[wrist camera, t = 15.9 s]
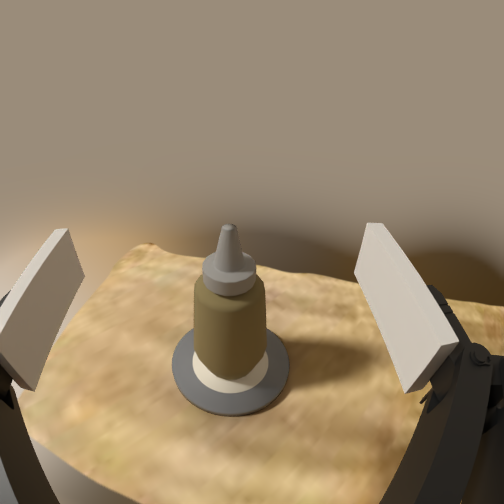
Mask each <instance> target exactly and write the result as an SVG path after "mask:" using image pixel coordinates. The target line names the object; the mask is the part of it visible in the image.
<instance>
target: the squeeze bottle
mask: <svg viewBox="0 0 504 504" xmlns="http://www.w3.org/2000/svg"><path fill="white" fill-rule="evenodd" d="M202 270H203V274H202V275H201V276H200V277H199V278H198V280H197V281H196V283H195V287H194V350H195V352H196V354H197V356H198V358H199V360H200V361H201V362H202V363H203V364H204V365H205V367H206V368H207V369H208V370H209V371H210V372H211V373H213V374H214V375H215V376H216V377H219V378H222V379H225V380H237V379H240V378H242V377H245V376H246V375H247V374H249V373H250V372H251V371H252V370H253V368H254V367H255V366H256V365H257V364H258V362H259V361H260V360H261V359H262V358H263V356H264V353H265V350H266V347H267V331H266V303H265V288H264V283H263V281H262V280H261V279H260V278H259V276H258V275H257V274H256V263H255V261H254V260H253V258H252V257H251V256H250V255H248V254H246V253H244V252H242V249H241V244H240V240H239V236H238V231H237V227H236V226H235V225H233V224H225V225H223V226H222V229H221V233H220V238H219V242H218V246H217V251H216V252H214V253H213V254H211V255H209V256H208V257H207V258H206V259H205V260H204V262H203V268H202Z"/></svg>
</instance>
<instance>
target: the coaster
mask: <svg viewBox="0 0 504 504" xmlns="http://www.w3.org/2000/svg"><path fill="white" fill-rule="evenodd" d="M266 331H267V347H266V350H265V353H264V356H263V358H262V359H261V360H260V361H259V362H258V364H257V365H256V366H255V367H254V368H253V370H252V371H251V372H250V373H249V374H247V375H246V376H245V377H242V378H240V379H237V380H225V379H222V378H219V377H216V376H215V375H214V374H213V373H211V372H210V371H209V370H208V369H207V368H206V367H205V365H204V364H203V363H202V362H201V361H200V360H199V358H198V356H197V354H196V352H195V350H194V328H193V329H192V330H190V331H189V332H188V333H187V334H186V335H185V336H184V337H183V338H182V339H181V340H180V342H179V343H178V345H177V346H176V348H175V351H174V354H173V358H172V371H173V375H174V379H175V382H176V384H177V386H178V389H179V390H180V392H181V393H182V395H183V396H184V397H185V398H186V399H187V400H188V401H189V402H190V403H192V404H193V405H194V406H196V407H198V408H199V409H201V410H203V411H206V412H208V413H211V414H215V415H220V416H242V415H247V414H251V413H254V412H257V411H259V410H261V409H263V408H265V407H266V406H268V405H269V404H270V403H272V402H273V401H274V400H275V399H276V398H277V397H278V396H279V394H280V393H281V391H282V390H283V388H284V386H285V384H286V381H287V377H288V373H289V358H288V354H287V351H286V349H285V347H284V345H283V343H282V342H281V341H280V339H279V338H278V337H277V336H276V335H275V334H274V333H273V332H271V331H270V330H269V329H267V328H266Z"/></svg>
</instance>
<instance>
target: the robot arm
mask: <svg viewBox="0 0 504 504" xmlns="http://www.w3.org/2000/svg"><path fill="white" fill-rule="evenodd" d="M354 274H355V276H356V278H357V280H358V282H359V284H360V286H361V289H362V291H363V293H364V295H365V297H366V300H367V302H368V304H369V306H370V309H371V311H372V313H373V315H374V318H375V320H376V322H377V325H378V327H379V329H380V332H381V334H382V337H383V339H384V341H385V344H386V346H387V349H388V351H389V354H390V356H391V359H392V361H393V364H394V366H395V369H396V372H397V374H398V377H399V380H400V382H401V385H402V388H403V390H404V393H405V394H406V393H410V392H414V391H418V390H421V389H423V388H424V386H425V385H426V384H427V383H428V382H429V380H430V382H431V385H432V388H431V389H430V391H429V392H428V393H427V394H426V395H425V396H424V397H423V398H422V400H421V401H420V404H422V403H423V402H424V401H425V400H426V399H427V400H426V402H425V405H424V408H423V411H422V414H421V416H420V419H419V422H418V424H417V427H416V429H415V432H414V434H413V437H412V439H411V441H410V444H409V446H408V448H407V451H406V453H405V455H404V457H403V459H402V461H401V463H400V466H399V468H398V470H397V472H396V474H395V476H394V478H393V480H392V481H391V483H390V485H389V487H388V489H387V491H386V493H385V494H384V496H383V498H382V500H381V501H380V503H379V504H460V503H461V504H504V356H499V355H491V354H490V352H489V351H488V350H487V349H486V348H485V347H484V346H482V345H481V344H478V343H471V341H470V339H469V338H468V336H467V334H466V332H465V331H464V329H463V327H462V326H461V324H460V322H459V321H458V319H457V317H456V316H455V314H454V313H453V311H452V309H451V308H450V306H449V305H448V303H447V301H446V300H445V298H444V297H443V295H442V293H440V292H439V291H438V290H437V289H436V288H435V287H434V286H432V285H425V283H424V282H423V280H422V279H421V277H420V276H419V274H418V272H417V271H416V269H415V268H414V267H413V265H412V264H411V262H410V261H409V259H408V258H407V256H406V255H405V253H404V252H403V251H402V249H401V248H400V246H399V245H398V244H397V242H396V241H395V240H394V238H393V237H392V236H391V234H390V233H389V231H388V230H387V229H386V228H385V226H384V225H383V224H382V223H367V226H366V230H365V234H364V238H363V242H362V246H361V249H360V253H359V257H358V261H357V264H356V268H355V271H354ZM84 277H85V275H84V273H83V271H82V268H81V265H80V262H79V259H78V256H77V254H76V251H75V248H74V245H73V242H72V239H71V236H70V233H69V229H55V230H54V232H53V233H52V234H51V236H50V237H49V238H48V239H47V240H46V242H45V243H44V244H43V246H42V247H41V248H40V250H39V251H38V252H37V254H36V255H35V256H34V258H33V259H32V261H31V262H30V263H29V265H28V266H27V267H26V269H25V270H24V272H23V273H22V275H21V276H20V278H19V279H18V281H17V282H16V283H15V285H14V287H13V288H12V290H10V291H9V292H8V294H6V295H5V296H4V297H3V298H2V300H1V301H0V504H60V503H59V501H58V500H57V498H56V496H55V494H54V492H53V490H52V488H51V486H50V484H49V482H48V480H47V478H46V476H45V474H44V471H43V469H42V467H41V465H40V463H39V460H38V458H37V455H36V453H35V450H34V448H33V446H32V443H31V440H30V437H29V435H28V432H27V429H26V426H25V423H24V420H23V417H22V414H21V411H20V408H19V404H18V401H17V397H16V394H15V391H14V389H13V387H12V386H11V383H12V380H14V381H15V382H16V383H17V384H18V385H19V386H20V387H21V388H23V389H27V390H30V391H34V392H35V389H36V386H37V384H38V381H39V378H40V375H41V373H42V370H43V367H44V365H45V362H46V360H47V357H48V355H49V352H50V350H51V347H52V345H53V342H54V340H55V337H56V335H57V333H58V331H59V328H60V326H61V324H62V322H63V320H64V317H65V315H66V313H67V311H68V309H69V307H70V305H71V303H72V301H73V299H74V296H75V294H76V292H77V290H78V288H79V287H80V285H81V283H82V281H83V279H84ZM461 500H462V502H461Z"/></svg>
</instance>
